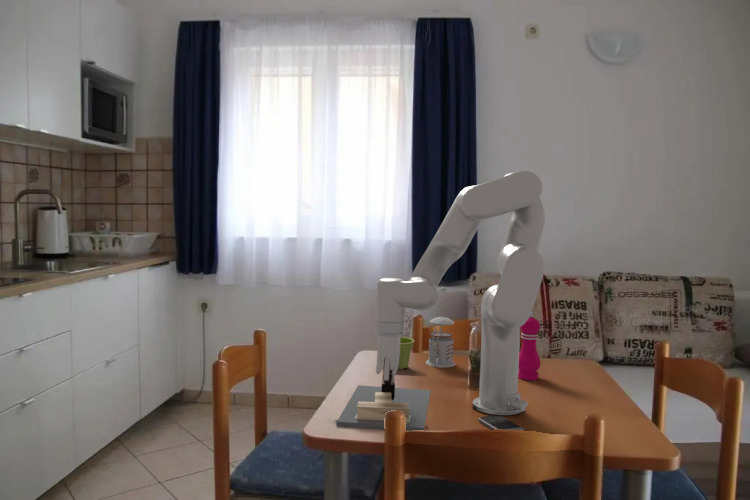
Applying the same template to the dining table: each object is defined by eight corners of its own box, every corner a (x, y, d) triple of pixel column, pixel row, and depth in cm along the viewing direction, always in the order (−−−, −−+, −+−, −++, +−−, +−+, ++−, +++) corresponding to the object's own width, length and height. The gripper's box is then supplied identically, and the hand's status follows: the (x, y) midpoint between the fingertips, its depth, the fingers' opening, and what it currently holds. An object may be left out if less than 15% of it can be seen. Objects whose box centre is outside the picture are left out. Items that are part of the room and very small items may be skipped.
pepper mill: (542, 377, 193) (545, 311, 192) (535, 382, 187) (539, 315, 186) (519, 373, 197) (522, 309, 196) (512, 378, 191) (515, 312, 189)
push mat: (358, 388, 175) (358, 385, 175) (430, 393, 173) (430, 390, 173) (336, 425, 146) (336, 421, 146) (423, 432, 143) (424, 427, 143)
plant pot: (413, 371, 196) (414, 343, 195) (383, 370, 196) (384, 342, 195) (412, 363, 205) (413, 337, 204) (383, 363, 205) (384, 336, 204)
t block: (359, 403, 159) (359, 391, 159) (406, 404, 159) (407, 393, 159) (356, 419, 147) (357, 406, 147) (408, 421, 147) (409, 408, 147)
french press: (459, 362, 209) (461, 286, 207) (449, 370, 198) (452, 290, 197) (430, 358, 213) (433, 284, 211) (419, 366, 202) (422, 288, 200)
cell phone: (498, 420, 154) (498, 414, 154) (525, 435, 144) (526, 429, 144) (476, 422, 152) (476, 416, 152) (502, 438, 142) (503, 432, 142)
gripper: (379, 321, 168) (377, 389, 169) (371, 332, 153) (368, 406, 154) (408, 323, 167) (405, 391, 168) (402, 334, 152) (399, 409, 153)
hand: (387, 398), depth 161 cm, fingers closed
